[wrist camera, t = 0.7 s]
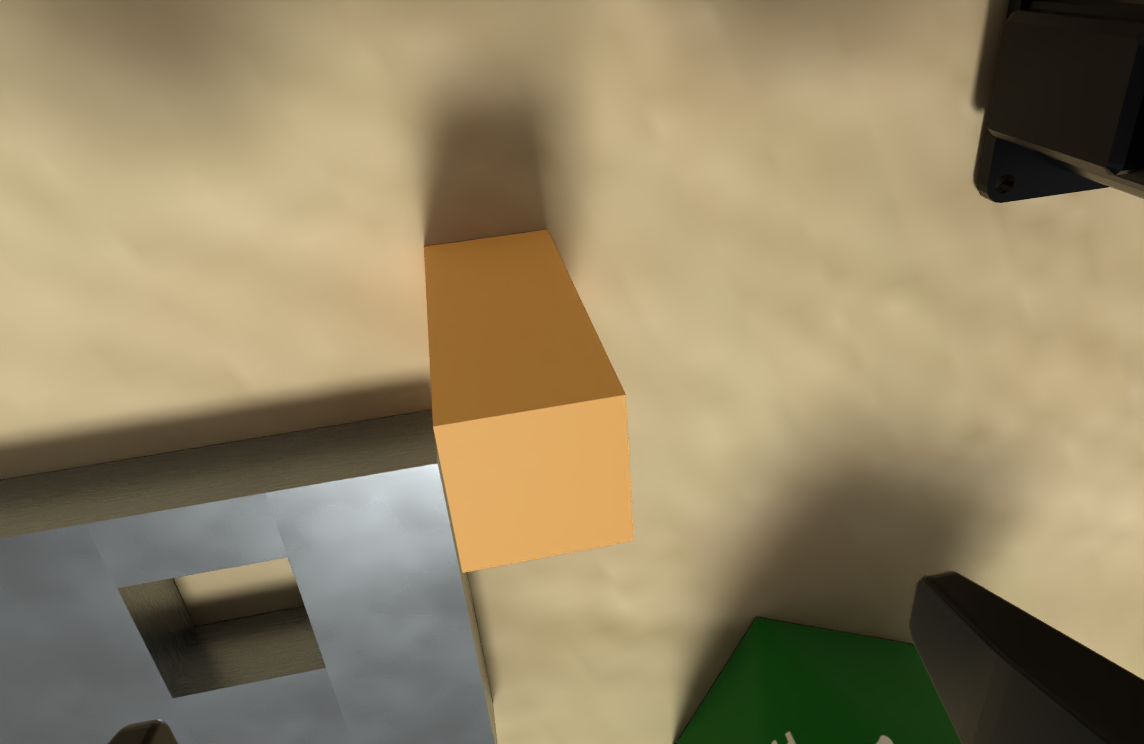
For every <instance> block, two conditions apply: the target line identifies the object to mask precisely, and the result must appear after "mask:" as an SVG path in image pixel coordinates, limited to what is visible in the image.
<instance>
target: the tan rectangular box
mask: <svg viewBox="0 0 1144 744" xmlns="http://www.w3.org/2000/svg"><path fill="white" fill-rule="evenodd" d="M424 257H425V277H426V297H427V317H428V337H429V357H430V377H431V396H432V416H433V429H434V434H435V439H436V444H437V449H438V454H439V459H440V464H441V469H442V474H443V479H444V483H445V488H446V493H447V498H448V503H449V508H450V513H451V518H452V523H453V528H454V533H455V538H456V543H457V548H458V553H459V558H460V563H461V568H462V572H463V573H465V572H470V571H475V570H480V569H486V568H491V567H496V566H502V565H507V564H512V563H518V562H523V561H528V560H534V559H539V558H544V557H550V556H555V555H560V554H566V553H571V552H576V551H582V550H587V549H592V548H597V547H603V546H608V545H613V544H619V543H624V542H629V541H634V537H633V518H632V500H631V481H630V463H629V444H628V426H627V408H626V394H625V392H624V390H623V388H622V386H621V384H620V381H619V379H618V377H617V375H616V373H615V371H614V369H613V367H612V365H611V362H610V360H609V358H608V356H607V354H606V352H605V350H604V348H603V345H602V343H601V341H600V339H599V337H598V335H597V333H596V331H595V329H594V326H593V324H592V322H591V320H590V318H589V316H588V314H587V312H586V310H585V307H584V305H583V303H582V301H581V299H580V297H579V295H578V293H577V291H576V288H575V286H574V284H573V282H572V280H571V278H570V276H569V274H568V271H567V269H566V267H565V265H564V263H563V261H562V259H561V257H560V255H559V252H558V250H557V248H556V246H555V244H554V242H553V240H552V238H551V236H550V233H549V231H548V229H547V230H540V231H533V232H526V233H519V234H511V235H504V236H497V237H490V238H483V239H475V240H468V241H461V242H454V243H447V244H439V245H432V246H425V247H424Z"/></svg>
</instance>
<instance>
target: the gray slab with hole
mask: <svg viewBox="0 0 1144 744" xmlns="http://www.w3.org/2000/svg"><path fill="white" fill-rule="evenodd" d="M286 557H288V559H289V562H290V565H291V568H292V571H293V573H294V576H295V579H296V582H297V585H298V588H299V591H300V594H301V597H302V599H303V602H304V605H305V606H303V607H298V608H293V609H287V610H282V611H277V612H272V613H266V614H261V615H256V616H250V617H245V618H240V619H235V620H229V621H224V622H219V623H213V624H208V625H203V626H197V627H194V625H193V623H192V620H191V618H190V616H189V614H188V611H187V609H186V607H185V605H184V603H183V600H182V598H181V596H180V594H179V592H178V589H177V587H176V585H175V583H174V580H173V578H176V577H182V576H187V575H193V574H198V573H204V572H209V571H215V570H220V569H226V568H231V567H237V566H242V565H248V564H253V563H259V562H264V561H270V560H275V559H281V558H286ZM155 719H161V720H163V721H165V722H166V723H167V724H168V725H169V727H170V729H171V731H172V733H173V734H174V736H175V738H176V740H177V742H178V744H497V735H496V726H495V717H494V708H493V702H492V697H491V692H490V687H489V682H488V676H487V671H486V666H485V661H484V656H483V651H482V646H481V641H480V636H479V631H478V626H477V621H476V616H475V611H474V606H473V601H472V596H471V591H470V586H469V581H468V576H467V572H465V573H463V572H462V568H461V563H460V558H459V553H458V548H457V543H456V538H455V533H454V528H453V523H452V518H451V513H450V508H449V503H448V498H447V493H446V488H445V483H444V479H443V474H442V469H441V464H440V459H439V454H438V449H437V444H436V439H435V434H434V429H433V416H432V410H427V411H421V412H415V413H409V414H403V415H396V416H390V417H384V418H378V419H372V420H366V421H360V422H354V423H348V424H341V425H335V426H329V427H323V428H317V429H311V430H305V431H299V432H292V433H286V434H280V435H274V436H268V437H262V438H256V439H250V440H243V441H237V442H231V443H225V444H219V445H213V446H207V447H201V448H195V449H188V450H182V451H176V452H170V453H164V454H158V455H152V456H146V457H139V458H133V459H127V460H121V461H115V462H109V463H103V464H97V465H90V466H84V467H78V468H72V469H66V470H60V471H54V472H48V473H41V474H35V475H29V476H23V477H17V478H11V479H5V480H0V744H108V742H109V741H110V740H111V739H112V738H113V737H114V736H115V734H116V733H117V732H118V731H119V730H121V729H122V728H123V727H125V726H127V725H130V724H134V723H139V722H145V721H150V720H155Z"/></svg>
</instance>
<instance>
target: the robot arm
mask: <svg viewBox="0 0 1144 744" xmlns="http://www.w3.org/2000/svg"><path fill="white" fill-rule="evenodd" d="M1003 175H1004V180H1003V182H1002V184H1001V185H1000V186H999V187H998V188H996V183H997V181H998V179H999V178H1000V177H1001V176H1003ZM1107 187H1112V188H1115V189H1118V190H1121V191H1123V192H1126V193H1129V194H1132V195H1135V196H1137V197H1140V198H1143V199H1144V0H1010V1H1009V7H1008V12H1007V18H1006V22H1005V25H1004V29H1003V35H1002V41H1001V46H1000V52H999V58H998V63H997V69H996V75H995V80H994V86H993V92H992V97H991V103H990V109H989V114H988V120H987V130H986V136H985V142H984V147H983V153H982V159H981V164H980V170H979V176H978V181H977V189H978V191H979V193H980V195H981V196H983V197H985V198H986V199H989V200H991V201H993V202H998V203H1003V202H1010V201H1017V200H1024V199H1031V198H1038V197H1045V196H1051V195H1058V194H1065V193H1072V192H1079V191H1086V190H1093V189H1100V188H1107ZM909 629H910V634H911V637H912V640H913V642H914V644H915V647H916V649H917V651H918V653H919V655H920V657H921V659H922V661H923V663H924V666H925V668H926V670H927V672H928V674H929V676H930V678H931V680H932V682H933V685H934V687H935V689H936V691H937V693H938V695H939V697H940V699H941V702H942V704H943V706H944V708H945V710H946V712H947V714H948V716H949V718H950V721H951V723H952V725H953V727H954V729H955V731H956V733H957V735H958V737H959V739H960V741H961V743H962V744H1144V680H1143V679H1141V678H1140V677H1138V676H1136V675H1134V674H1133V673H1131V672H1129V671H1128V670H1126V669H1124V668H1122V667H1121V666H1119V665H1117V664H1115V663H1114V662H1112V661H1110V660H1108V659H1107V658H1105V657H1103V656H1102V655H1100V654H1098V653H1096V652H1095V651H1093V650H1091V649H1089V648H1088V647H1086V646H1084V645H1082V644H1081V643H1079V642H1077V641H1075V640H1074V639H1072V638H1070V637H1069V636H1067V635H1065V634H1063V633H1062V632H1060V631H1058V630H1056V629H1055V628H1053V627H1051V626H1049V625H1048V624H1046V623H1044V622H1043V621H1041V620H1039V619H1037V618H1036V617H1034V616H1032V615H1030V614H1029V613H1027V612H1025V611H1023V610H1022V609H1020V608H1018V607H1016V606H1015V605H1013V604H1011V603H1010V602H1008V601H1006V600H1004V599H1003V598H1001V597H999V596H997V595H996V594H994V593H992V592H990V591H989V590H987V589H985V588H984V587H982V586H980V585H978V584H977V583H975V582H973V581H971V580H970V579H968V578H966V577H964V576H963V575H961V574H959V573H957V572H954V571H950V570H946V571H940V572H935V573H929V574H924V575H922V576H920V577H919V579H918V580H917V582H916V586H915V591H914V596H913V602H912V607H911V612H910V618H909ZM108 744H178V742H177V740H176V738H175V736H174V734H173V733H172V731H171V729H170V727H169V725H168V724H167V723H166V722H165V721H163V720H161V719H155V720H150V721H145V722H139V723H134V724H130V725H127V726H125V727H123V728H122V729H121V730H119V731H118V732H117V733H116V734H115V736H114V737H113V738H112V739H111V740H110V741H109V742H108Z"/></svg>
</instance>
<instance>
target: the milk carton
mask: <svg viewBox="0 0 1144 744" xmlns="http://www.w3.org/2000/svg"><path fill="white" fill-rule="evenodd" d="M676 744H962V743H961V741H960V739H959V737H958V735H957V733H956V731H955V729H954V727H953V725H952V723H951V721H950V718H949V716H948V714H947V712H946V710H945V708H944V706H943V704H942V702H941V699H940V697H939V695H938V693H937V691H936V689H935V687H934V685H933V682H932V680H931V678H930V676H929V674H928V672H927V670H926V668H925V666H924V663H923V661H922V659H921V657H920V655H919V653H918V651H917V649H916V647H915V645H913V644H908V643H902V642H897V641H891V640H885V639H879V638H874V637H868V636H862V635H856V634H851V633H845V632H839V631H833V630H828V629H822V628H816V627H810V626H805V625H799V624H793V623H787V622H782V621H776V620H770V619H764V618H759V617H756V618H755V620H754V622H753V623H752V625H751V626H750V628H749V630H748V631H747V633H746V634H745V636H744V637H743V639H742V641H741V642H740V644H739V645H738V647H737V648H736V650H735V652H734V653H733V655H732V656H731V658H730V659H729V661H728V662H727V664H726V666H725V667H724V669H723V670H722V672H721V673H720V675H719V677H718V678H717V680H716V681H715V683H714V684H713V686H712V688H711V689H710V691H709V692H708V694H707V695H706V697H705V699H704V700H703V702H702V703H701V705H700V706H699V708H698V710H697V711H696V713H695V714H694V716H693V717H692V719H691V721H690V722H689V724H688V725H687V727H686V729H685V730H684V732H683V733H682V735H681V736H680V738H679V740H678V741H677V743H676Z"/></svg>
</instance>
